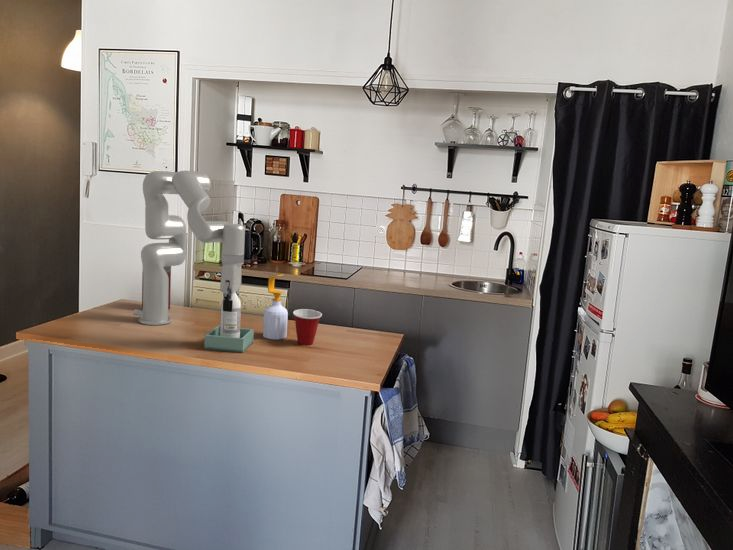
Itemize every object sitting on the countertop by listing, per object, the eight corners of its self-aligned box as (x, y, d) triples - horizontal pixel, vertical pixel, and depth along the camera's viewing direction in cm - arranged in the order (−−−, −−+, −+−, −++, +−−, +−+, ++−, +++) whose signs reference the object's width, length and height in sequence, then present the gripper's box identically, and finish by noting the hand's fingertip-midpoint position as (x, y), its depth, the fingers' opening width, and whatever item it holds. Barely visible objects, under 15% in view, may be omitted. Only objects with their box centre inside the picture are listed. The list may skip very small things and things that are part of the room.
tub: (204, 349, 202) (204, 335, 201) (217, 339, 215) (217, 326, 214) (242, 352, 201) (243, 338, 200) (253, 342, 214) (253, 329, 213)
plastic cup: (297, 348, 211) (299, 316, 209) (287, 340, 220) (288, 309, 219) (324, 346, 216) (326, 315, 214) (313, 338, 225) (315, 308, 224)
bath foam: (243, 339, 207) (245, 284, 204) (225, 341, 203) (227, 285, 200) (234, 334, 212) (236, 280, 209) (216, 336, 208) (218, 281, 205)
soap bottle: (279, 341, 218) (282, 277, 214) (258, 337, 221) (261, 274, 217) (290, 336, 227) (294, 274, 223) (270, 332, 230) (273, 271, 226)
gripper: (229, 255, 212) (228, 303, 215) (214, 261, 195) (212, 313, 198) (250, 257, 211) (247, 304, 214) (236, 263, 194) (233, 315, 197)
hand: (230, 308), depth 206 cm, fingers closed on bath foam, 7 cm apart
